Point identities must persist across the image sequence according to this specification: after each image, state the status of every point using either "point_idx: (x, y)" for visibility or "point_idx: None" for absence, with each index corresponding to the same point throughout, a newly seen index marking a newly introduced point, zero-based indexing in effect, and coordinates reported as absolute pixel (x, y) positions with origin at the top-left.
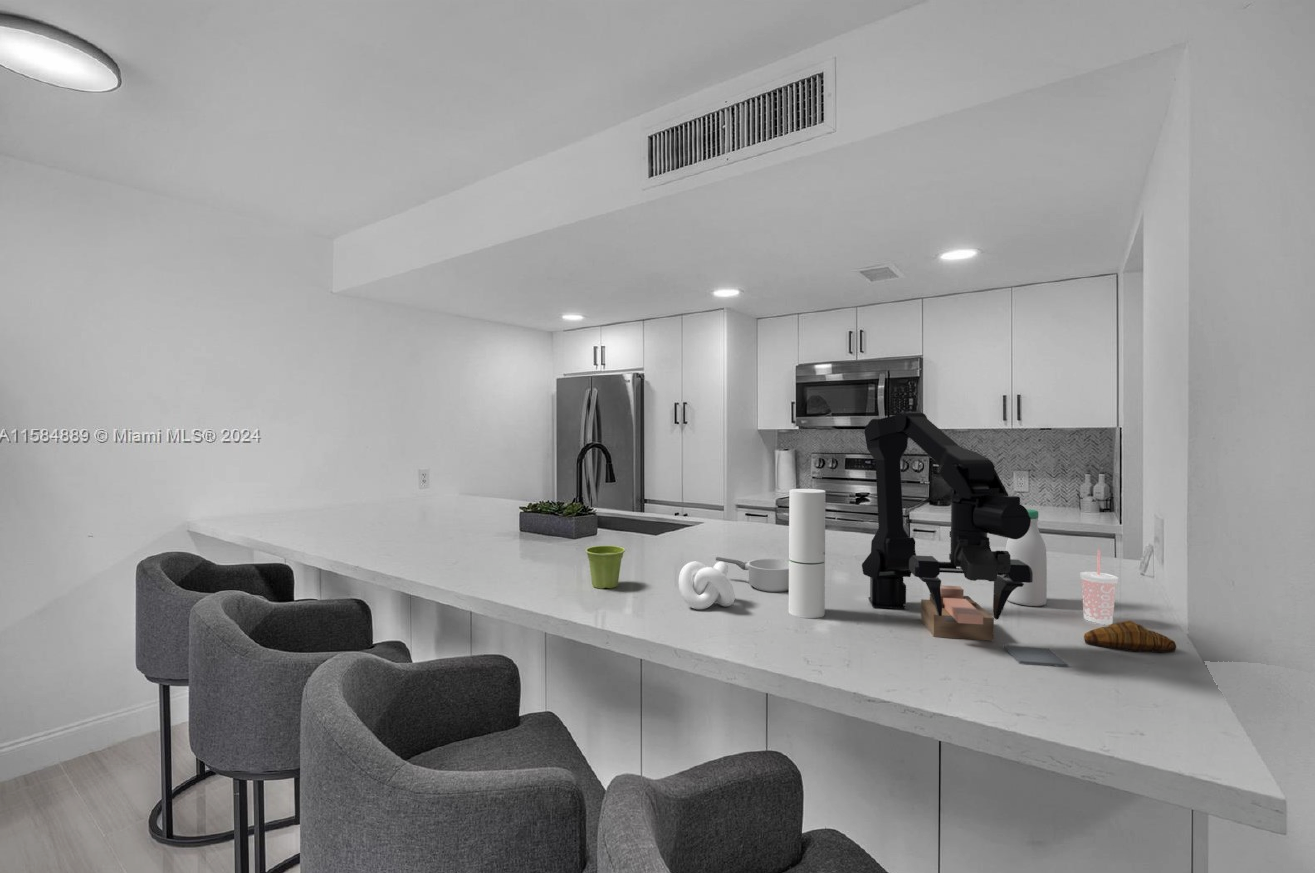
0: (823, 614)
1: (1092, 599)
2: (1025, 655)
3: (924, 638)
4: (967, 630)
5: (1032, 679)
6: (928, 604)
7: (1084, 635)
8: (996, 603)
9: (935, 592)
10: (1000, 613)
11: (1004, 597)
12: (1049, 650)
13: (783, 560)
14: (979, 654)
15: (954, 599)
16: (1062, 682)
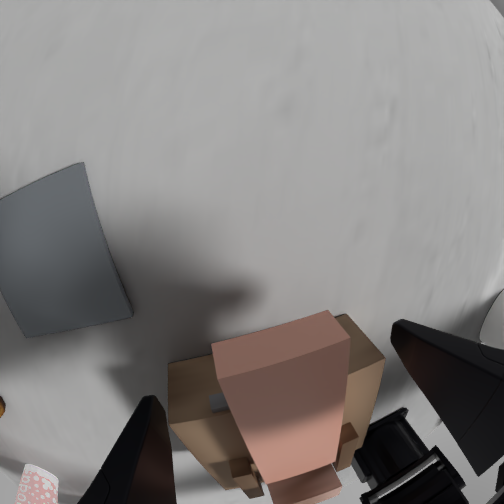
0: (488, 316)
1: (37, 499)
2: (61, 240)
3: (373, 285)
4: None
5: (78, 27)
6: (360, 429)
7: (1, 412)
8: (153, 466)
9: (501, 356)
10: (131, 417)
11: (102, 493)
12: (20, 322)
13: None
14: (220, 199)
15: (304, 468)
16: (7, 61)
